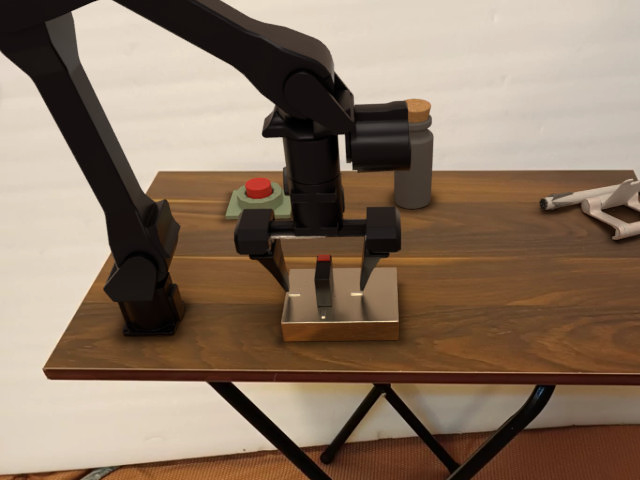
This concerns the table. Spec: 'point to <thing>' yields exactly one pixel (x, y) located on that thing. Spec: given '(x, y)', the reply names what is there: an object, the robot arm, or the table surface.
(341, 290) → the panel
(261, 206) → the switch block
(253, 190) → the button
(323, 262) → the stove knob
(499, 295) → the table surface
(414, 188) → the bottle
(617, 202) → the tablet stand
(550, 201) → the rocket model
